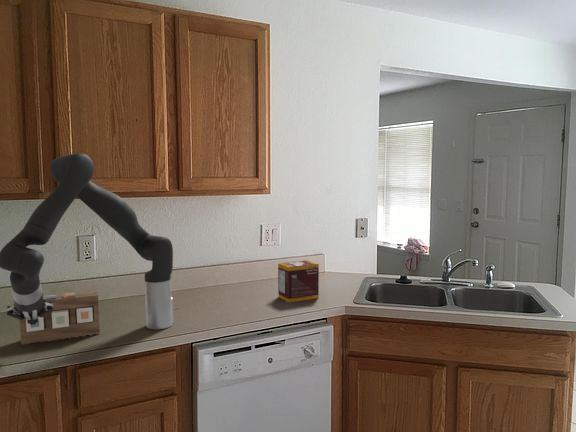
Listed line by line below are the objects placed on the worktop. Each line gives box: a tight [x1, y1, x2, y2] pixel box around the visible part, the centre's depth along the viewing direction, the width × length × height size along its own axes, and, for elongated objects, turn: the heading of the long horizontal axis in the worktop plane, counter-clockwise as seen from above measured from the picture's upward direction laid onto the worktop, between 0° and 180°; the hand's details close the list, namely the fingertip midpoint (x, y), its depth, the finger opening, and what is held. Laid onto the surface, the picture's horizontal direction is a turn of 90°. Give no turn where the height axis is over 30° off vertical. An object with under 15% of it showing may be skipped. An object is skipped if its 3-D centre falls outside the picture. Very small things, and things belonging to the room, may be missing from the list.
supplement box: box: [277, 259, 320, 303], centre depth 206 cm, size 10×15×16 cm
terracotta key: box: [76, 306, 93, 323], centre depth 161 cm, size 5×5×5 cm
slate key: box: [26, 317, 45, 332], centre depth 153 cm, size 5×5×5 cm
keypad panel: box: [19, 291, 101, 345], centre depth 159 cm, size 6×24×15 cm, turn 115°
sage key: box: [52, 309, 69, 328], centre depth 156 cm, size 5×5×5 cm
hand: (33, 322), depth 146 cm, fingers closed
